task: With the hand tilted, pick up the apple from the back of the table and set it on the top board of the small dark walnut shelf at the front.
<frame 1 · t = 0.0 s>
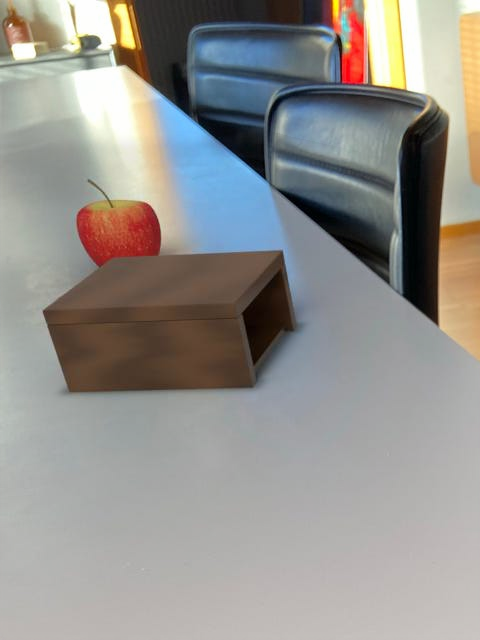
shelf: (189, 359, 89), on the table
apple: (132, 275, 112), on the table
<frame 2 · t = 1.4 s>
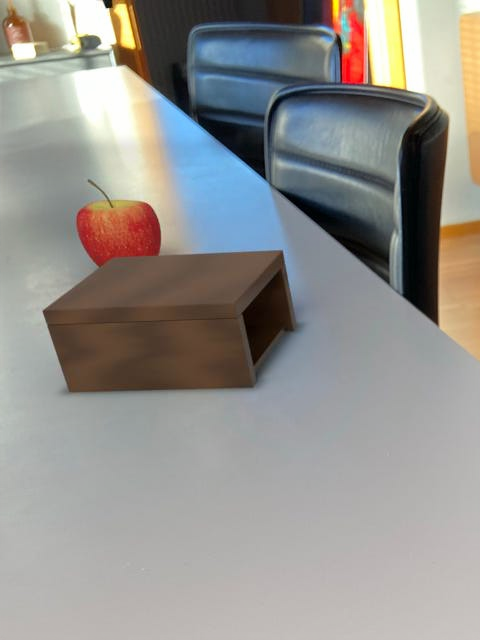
hand: (42, 6, 105), 25 cm above the table, tool tilted 45°, fingers open, 13 cm apart
nothing on the table moved.
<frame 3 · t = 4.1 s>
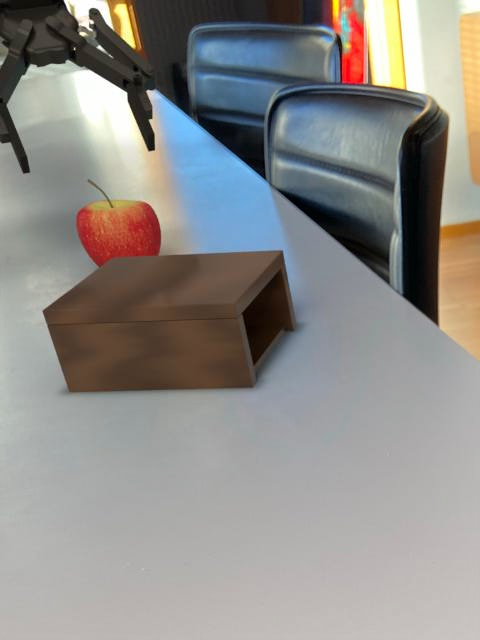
hand: (89, 154, 110), 11 cm above the table, tool tilted 45°, fingers open, 13 cm apart
nothing on the table moved.
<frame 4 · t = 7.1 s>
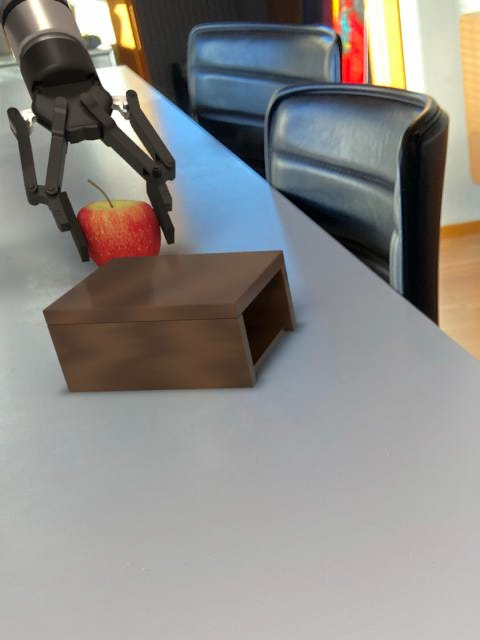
hand: (128, 245, 107), 4 cm above the table, tool tilted 45°, fingers closed on apple, 8 cm apart
apple: (132, 275, 112), on the table, touching gripper
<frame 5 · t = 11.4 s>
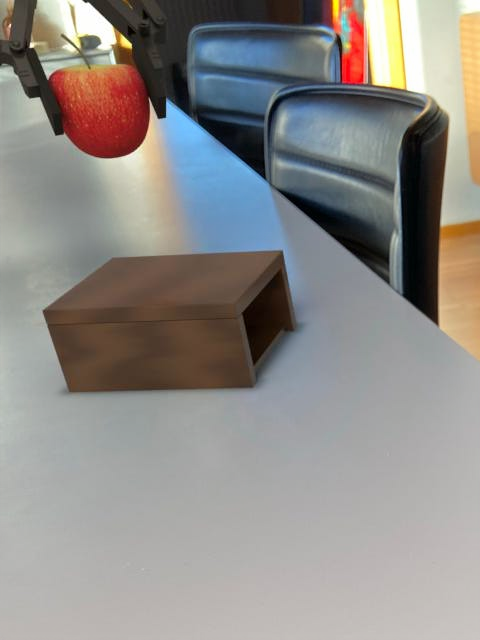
hand: (111, 116, 89), 18 cm above the table, tool tilted 45°, fingers closed on apple, 8 cm apart
apple: (115, 158, 94), point 14 cm above the table, touching gripper
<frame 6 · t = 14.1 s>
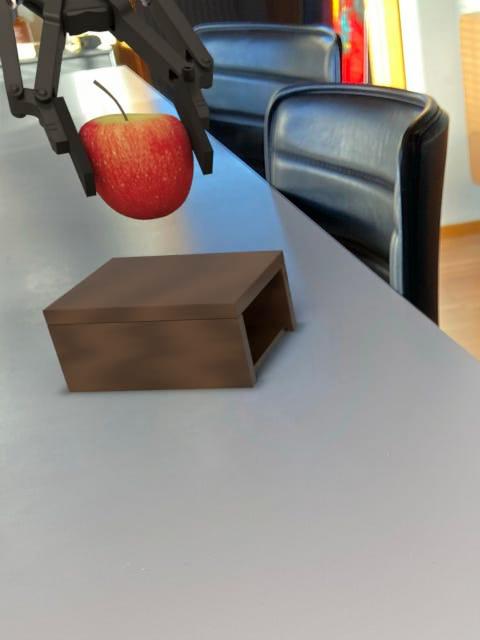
hand: (150, 173, 78), 16 cm above the table, tool tilted 45°, fingers closed on apple, 8 cm apart
apple: (153, 218, 82), point 12 cm above the table, touching gripper
when the fingers open (11 cm above the table, at t = 16.0 s): apple stays where it is, resting on shelf.
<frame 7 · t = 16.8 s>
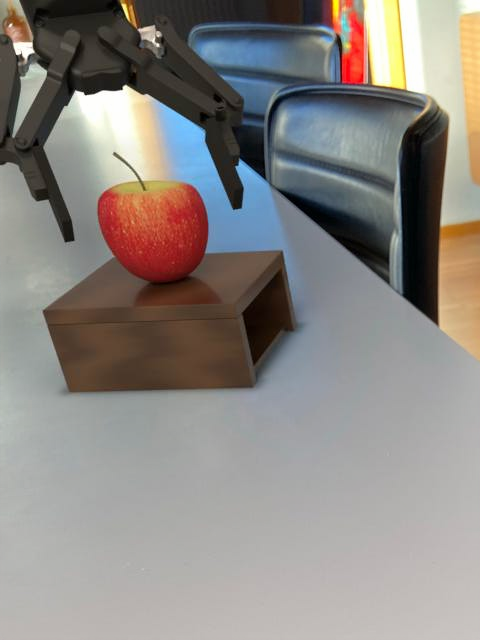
hand: (156, 215, 80), 12 cm above the table, tool tilted 45°, fingers open, 13 cm apart
apple: (169, 280, 85), point 7 cm above the table, touching shelf
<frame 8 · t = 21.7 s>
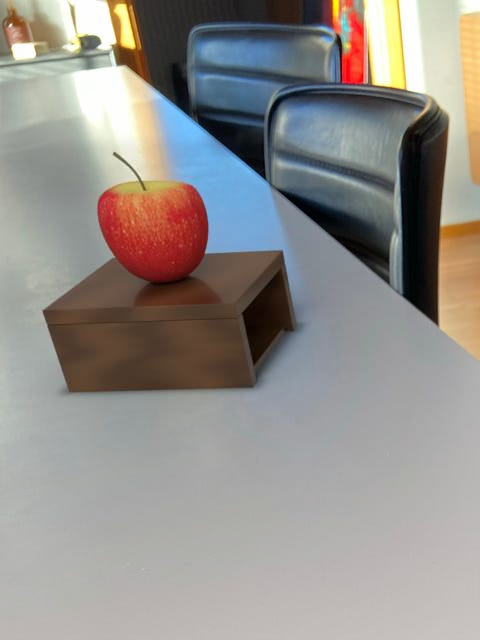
nothing on the table moved.
at the end: apple inside the target area on the shelf (0.0 cm from its centre), point 6.8 cm above the shelf's base; the gripper is holding nothing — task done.
